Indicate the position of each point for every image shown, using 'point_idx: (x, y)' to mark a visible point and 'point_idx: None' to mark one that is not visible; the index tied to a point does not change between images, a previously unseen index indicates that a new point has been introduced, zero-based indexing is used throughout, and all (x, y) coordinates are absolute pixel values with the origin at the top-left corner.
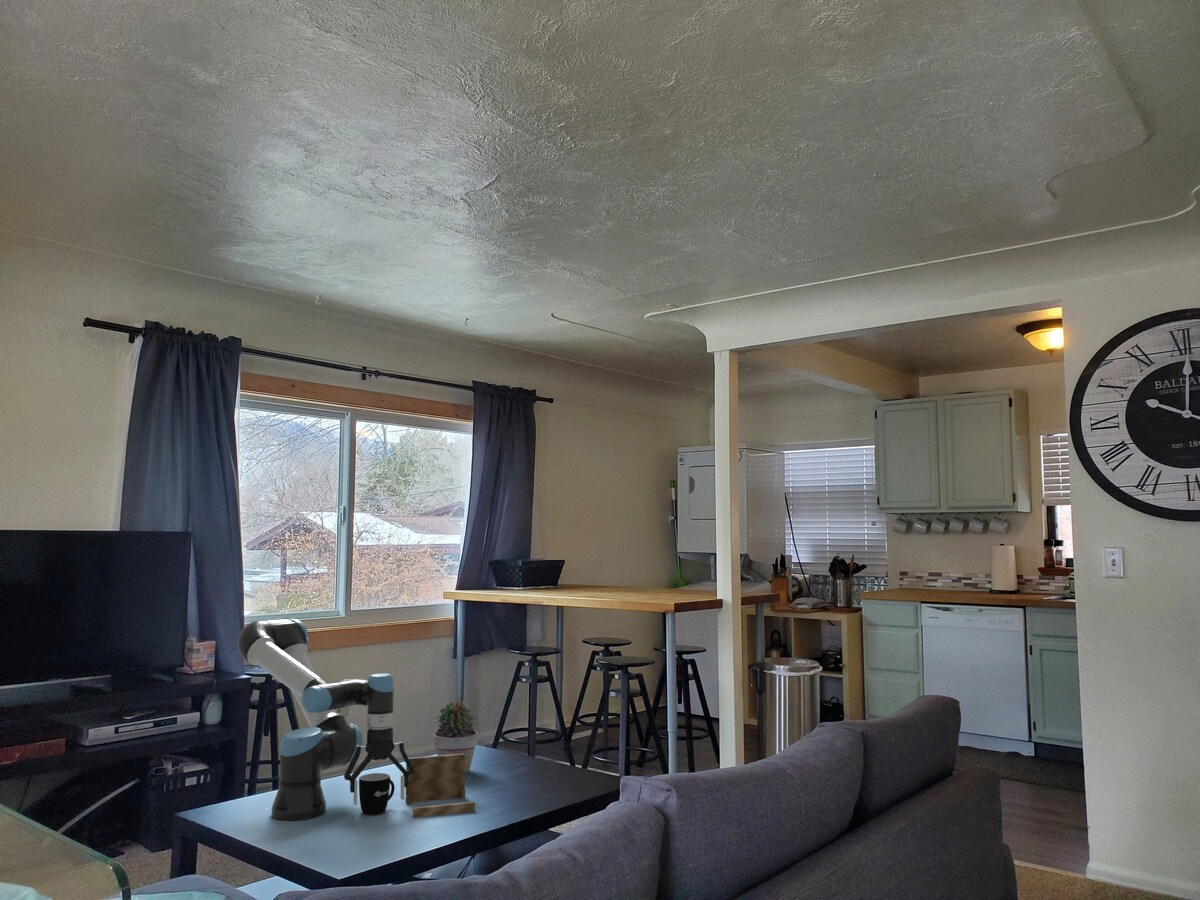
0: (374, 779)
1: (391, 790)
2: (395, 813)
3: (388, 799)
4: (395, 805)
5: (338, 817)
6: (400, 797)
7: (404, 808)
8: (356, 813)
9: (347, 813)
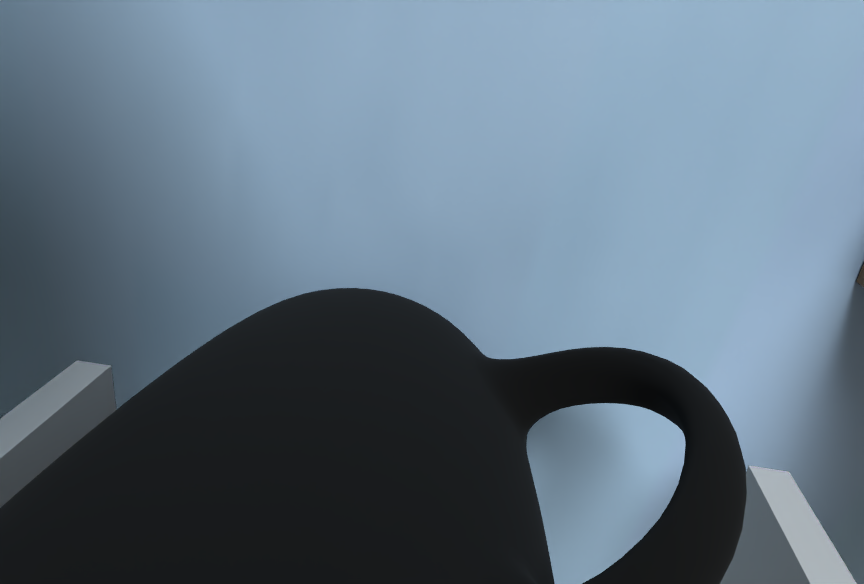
0: (264, 519)
1: (666, 408)
2: (575, 537)
3: (571, 403)
4: (697, 253)
5: (5, 395)
6: (749, 466)
7: (741, 426)
8: (182, 351)
9: (85, 305)
